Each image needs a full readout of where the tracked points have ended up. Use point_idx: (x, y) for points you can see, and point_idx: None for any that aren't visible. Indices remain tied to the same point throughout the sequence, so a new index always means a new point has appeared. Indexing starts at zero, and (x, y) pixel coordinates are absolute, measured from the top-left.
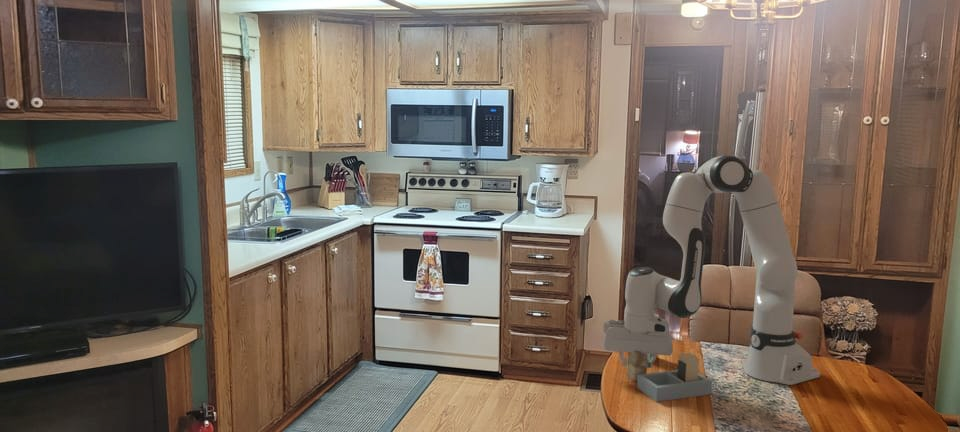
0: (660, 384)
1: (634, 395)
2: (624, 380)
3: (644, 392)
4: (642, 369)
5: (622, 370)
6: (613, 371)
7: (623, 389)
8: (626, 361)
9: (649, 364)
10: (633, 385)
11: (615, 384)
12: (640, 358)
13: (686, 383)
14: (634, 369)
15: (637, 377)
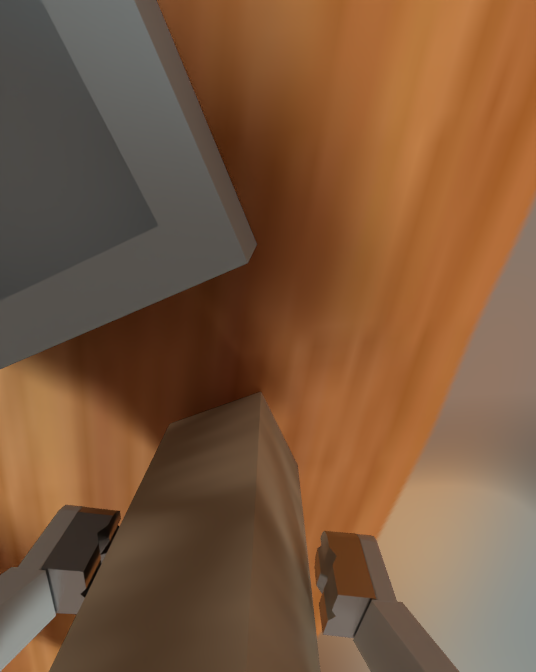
0: (22, 278)
1: (315, 11)
2: (334, 392)
3: (194, 95)
4: (172, 484)
5: (310, 535)
6: (373, 519)
7: (394, 193)
8: (342, 583)
9: (71, 543)
10: (279, 301)
11: (433, 307)
12: (153, 637)
13: None
14: (257, 465)
15: (250, 257)
